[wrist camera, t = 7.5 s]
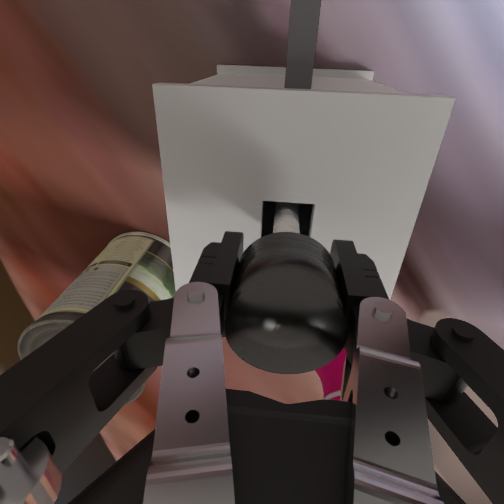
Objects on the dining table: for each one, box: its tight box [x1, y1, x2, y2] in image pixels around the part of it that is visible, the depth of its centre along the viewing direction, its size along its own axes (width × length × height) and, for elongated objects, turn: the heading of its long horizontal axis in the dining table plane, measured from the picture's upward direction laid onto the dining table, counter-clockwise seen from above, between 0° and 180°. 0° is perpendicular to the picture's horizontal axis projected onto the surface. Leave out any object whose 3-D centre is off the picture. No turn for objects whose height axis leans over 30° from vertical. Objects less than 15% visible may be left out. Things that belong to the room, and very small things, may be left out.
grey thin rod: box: [224, 202, 348, 374], centre depth 19 cm, size 9×9×22 cm
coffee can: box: [17, 232, 176, 405], centre depth 32 cm, size 10×10×14 cm
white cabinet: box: [152, 0, 456, 300], centre depth 21 cm, size 12×16×16 cm
